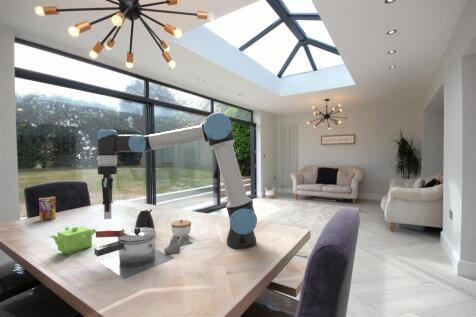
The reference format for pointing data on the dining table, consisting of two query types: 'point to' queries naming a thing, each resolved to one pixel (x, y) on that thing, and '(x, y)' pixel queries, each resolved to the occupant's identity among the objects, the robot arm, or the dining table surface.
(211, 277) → the dining table surface
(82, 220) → the dining table surface
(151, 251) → the pot
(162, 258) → the trivet
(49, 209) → the candy box
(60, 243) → the kettle
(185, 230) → the lidded jar
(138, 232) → the lid
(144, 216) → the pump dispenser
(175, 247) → the goldfish
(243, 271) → the dining table surface
